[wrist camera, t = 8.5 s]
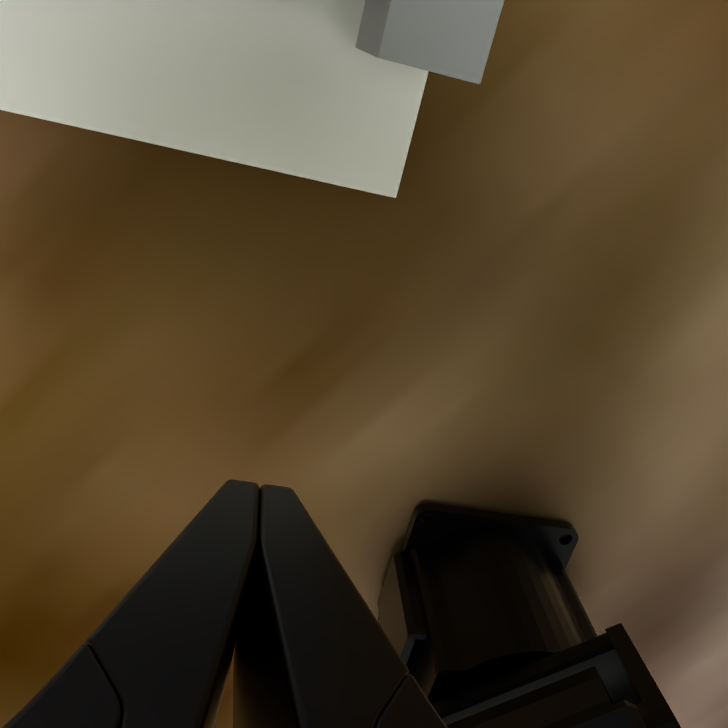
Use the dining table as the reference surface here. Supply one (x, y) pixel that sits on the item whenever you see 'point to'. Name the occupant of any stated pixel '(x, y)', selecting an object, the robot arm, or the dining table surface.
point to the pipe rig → (246, 75)
